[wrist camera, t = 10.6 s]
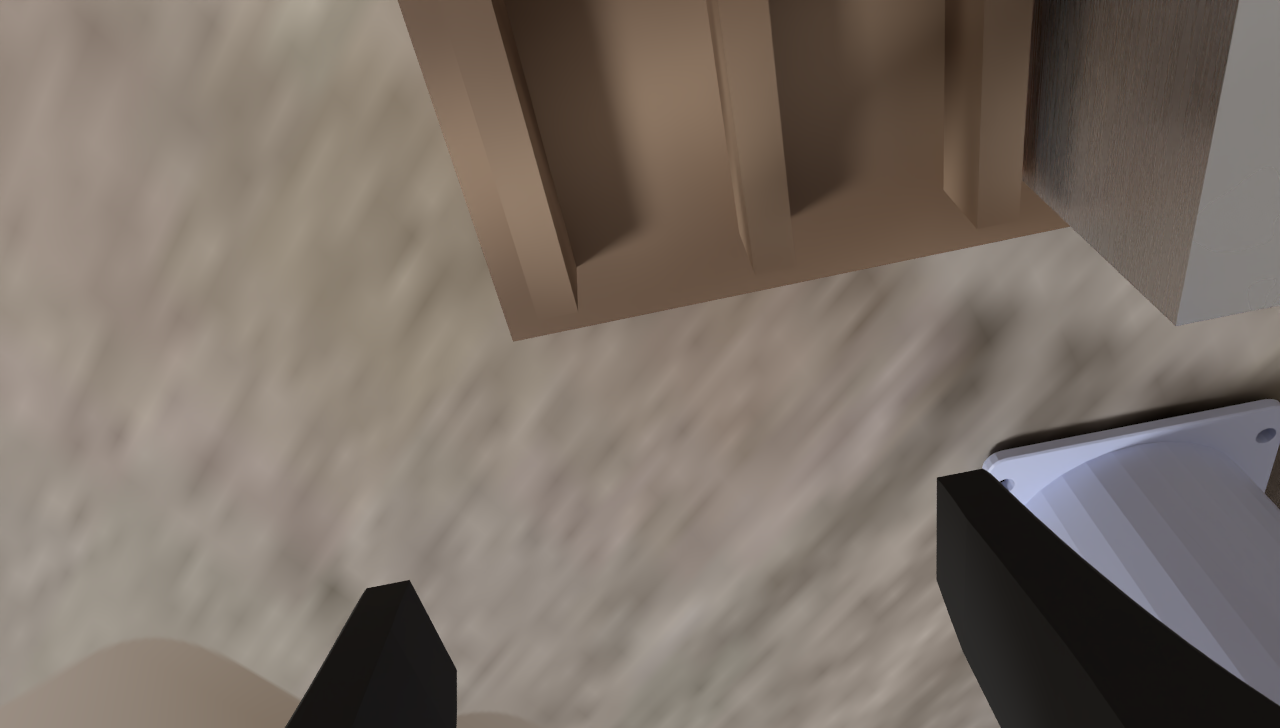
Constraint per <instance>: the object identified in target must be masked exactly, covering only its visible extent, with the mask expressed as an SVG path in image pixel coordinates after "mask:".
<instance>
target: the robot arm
mask: <svg viewBox="0 0 1280 728" xmlns="http://www.w3.org/2000/svg"><path fill="white" fill-rule="evenodd" d="M1279 444H1280V402H1279V401H1277V400H1274V399H1264V400H1259V401H1253V402H1248V403H1243V404H1238V405H1233V406H1228V407H1223V408H1218V409H1212V410H1207V411H1202V412H1197V413H1192V414H1187V415H1182V416H1177V417H1171V418H1166V419H1161V420H1156V421H1151V422H1146V423H1141V424H1135V425H1130V426H1125V427H1120V428H1115V429H1110V430H1105V431H1100V432H1094V433H1089V434H1084V435H1079V436H1074V437H1069V438H1064V439H1059V440H1053V441H1048V442H1043V443H1038V444H1033V445H1028V446H1023V447H1018V448H1012V449H1007V450H1002V451H999V452H996V453H993V454H992V455H990V456H989V457H988V458H987V459H986V461H985V462H984V464H983V467H982V469H979V470H974V471H969V472H963V473H958V474H953V475H948V476H943V477H938V478H937V582H938V585H939V588H940V591H941V593H942V596H943V599H944V602H945V604H946V607H947V610H948V613H949V616H950V618H951V621H952V624H953V626H954V629H955V632H956V634H957V637H958V640H959V642H960V645H961V648H962V650H963V652H964V654H965V656H966V658H967V661H968V663H969V665H970V667H971V669H972V671H973V673H974V675H975V677H976V679H977V681H978V683H979V685H980V687H981V689H982V691H983V693H984V695H985V697H986V699H987V701H988V703H989V705H990V707H991V709H992V711H993V713H994V715H995V717H996V719H997V721H998V723H999V725H1000V727H1001V728H1280V509H1279V508H1278V507H1277V506H1276V505H1275V504H1274V503H1273V502H1272V501H1271V500H1270V499H1269V498H1268V496H1267V495H1266V494H1265V490H1266V487H1267V483H1268V480H1269V477H1270V474H1271V470H1272V467H1273V464H1274V461H1275V457H1276V454H1277V451H1278V448H1279ZM1004 479H1006V480H1005V481H1003V482H1001V483H1000V481H1002V480H1004ZM456 720H457V670H456V668H455V666H454V664H453V662H452V660H451V658H450V656H449V654H448V652H447V651H446V649H445V647H444V645H443V643H442V641H441V639H440V637H439V635H438V633H437V631H436V630H435V628H434V626H433V624H432V622H431V620H430V618H429V616H428V614H427V612H426V610H425V608H424V607H423V605H422V603H421V601H420V599H419V597H418V595H417V593H416V591H415V589H414V587H413V586H412V584H411V582H410V580H408V581H402V582H397V583H392V584H387V585H382V586H377V587H371V588H367V589H366V590H365V592H364V593H363V594H362V596H361V598H360V599H359V601H358V603H357V605H356V606H355V608H354V610H353V612H352V613H351V615H350V617H349V619H348V620H347V622H346V624H345V626H344V627H343V629H342V631H341V633H340V635H339V636H338V638H337V640H336V642H335V643H334V645H333V647H332V649H331V650H330V652H329V654H328V656H327V658H326V659H325V661H324V663H323V664H322V666H321V668H320V670H319V671H318V673H317V675H316V677H315V678H314V680H313V682H312V684H311V685H310V687H309V689H308V690H307V692H306V694H305V695H304V697H303V699H302V700H301V702H300V704H299V705H298V707H297V709H296V710H295V712H294V714H293V715H292V717H291V719H290V720H289V722H288V723H287V725H286V727H285V728H456V724H457V723H456V722H457V721H456Z"/></svg>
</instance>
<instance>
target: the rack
mask: <svg viewBox="0 0 1280 728" xmlns="http://www.w3.org/2000/svg"><path fill="white" fill-rule="evenodd" d="M398 3H399V5H400V8H401V11H402V14H403V17H404V20H405V23H406V26H407V29H408V32H409V35H410V38H411V41H412V44H413V47H414V50H415V53H416V56H417V59H418V62H419V65H420V68H421V70H422V73H423V76H424V79H425V82H426V85H427V88H428V91H429V94H430V97H431V100H432V103H433V106H434V109H435V112H436V115H437V118H438V121H439V124H440V127H441V130H442V133H443V135H444V138H445V141H446V144H447V147H448V150H449V153H450V156H451V159H452V162H453V165H454V168H455V171H456V174H457V177H458V180H459V183H460V186H461V189H462V192H463V195H464V197H465V200H466V203H467V206H468V209H469V212H470V215H471V218H472V221H473V224H474V227H475V230H476V233H477V236H478V239H479V242H480V245H481V248H482V251H483V254H484V257H485V260H486V262H487V265H488V268H489V271H490V274H491V277H492V280H493V283H494V286H495V289H496V292H497V295H498V298H499V301H500V304H501V307H502V310H503V313H504V316H505V319H506V322H507V324H508V327H509V330H510V333H511V336H512V339H513V342H514V341H518V340H523V339H528V338H533V337H538V336H543V335H547V334H552V333H557V332H562V331H567V330H572V329H576V328H581V327H586V326H591V325H596V324H601V323H606V322H610V321H615V320H620V319H625V318H630V317H635V316H639V315H644V314H649V313H654V312H659V311H664V310H668V309H673V308H678V307H683V306H688V305H693V304H697V303H702V302H707V301H712V300H717V299H722V298H726V297H731V296H736V295H741V294H746V293H751V292H755V291H760V290H765V289H770V288H775V287H780V286H785V285H789V284H794V283H799V282H804V281H809V280H814V279H818V278H823V277H828V276H833V275H838V274H843V273H847V272H852V271H857V270H862V269H867V268H872V267H876V266H881V265H886V264H891V263H896V262H901V261H905V260H910V259H915V258H920V257H925V256H930V255H934V254H939V253H944V252H949V251H954V250H959V249H964V248H968V247H973V246H978V245H983V244H988V243H993V242H997V241H1002V240H1007V239H1012V238H1017V237H1022V236H1026V235H1031V234H1036V233H1041V232H1046V231H1051V230H1055V229H1060V228H1065V227H1070V225H1069V224H1068V223H1066V222H1065V221H1064V220H1063V219H1062V218H1061V217H1060V216H1059V215H1058V214H1057V213H1056V212H1055V211H1054V210H1053V209H1052V208H1051V207H1050V206H1049V205H1047V204H1046V203H1045V202H1044V201H1043V200H1042V199H1041V198H1040V197H1039V196H1038V195H1037V194H1036V193H1035V192H1034V191H1033V190H1032V189H1031V188H1030V187H1028V186H1027V185H1026V184H1025V183H1024V182H1023V181H1022V166H1023V150H1024V135H1025V119H1026V103H1027V88H1028V72H1029V57H1030V41H1031V25H1032V10H1033V0H398Z"/></svg>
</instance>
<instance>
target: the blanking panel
mask: <svg viewBox="0 0 1280 728" xmlns="http://www.w3.org/2000/svg"><path fill="white" fill-rule="evenodd" d="M1022 181H1023V182H1024V183H1025V184H1026V185H1027V186H1028V187H1030V188H1031V189H1032V190H1033V191H1034V192H1035V193H1036V194H1037V195H1038V196H1039V197H1040V198H1041V199H1042V200H1043V201H1044V202H1045V203H1046V204H1047V205H1049V206H1050V207H1051V208H1052V209H1053V210H1054V211H1055V212H1056V213H1057V214H1058V215H1059V216H1060V217H1061V218H1062V219H1063V220H1064V221H1065V222H1066V223H1068V224H1069V225H1070V226H1071V227H1072V228H1073V229H1074V230H1075V231H1076V232H1077V233H1078V234H1079V235H1080V236H1081V237H1082V238H1083V239H1084V240H1085V241H1086V242H1088V243H1089V244H1090V245H1091V246H1092V247H1093V248H1094V249H1095V250H1096V251H1097V252H1098V253H1099V254H1100V255H1101V256H1102V257H1103V258H1104V259H1105V260H1107V261H1108V262H1109V263H1110V264H1111V265H1112V266H1113V267H1114V268H1115V269H1116V270H1117V271H1118V272H1119V273H1120V274H1121V275H1122V276H1123V277H1124V278H1126V279H1127V280H1128V281H1129V282H1130V283H1131V284H1132V285H1133V286H1134V287H1135V288H1136V289H1137V290H1138V291H1139V292H1140V293H1141V294H1142V295H1143V296H1144V297H1146V298H1147V299H1148V300H1149V301H1150V302H1151V303H1152V304H1153V305H1154V306H1155V307H1156V308H1157V309H1158V310H1159V311H1160V312H1161V313H1162V314H1163V315H1165V316H1166V317H1167V318H1168V319H1169V320H1170V321H1171V322H1172V323H1173V324H1174V325H1175V326H1179V325H1184V324H1189V323H1194V322H1199V321H1204V320H1209V319H1214V318H1219V317H1224V316H1229V315H1234V314H1239V313H1244V312H1249V311H1254V310H1259V309H1264V308H1269V307H1274V306H1279V305H1280V0H1033V10H1032V25H1031V41H1030V57H1029V72H1028V88H1027V103H1026V119H1025V135H1024V150H1023V166H1022Z"/></svg>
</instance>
